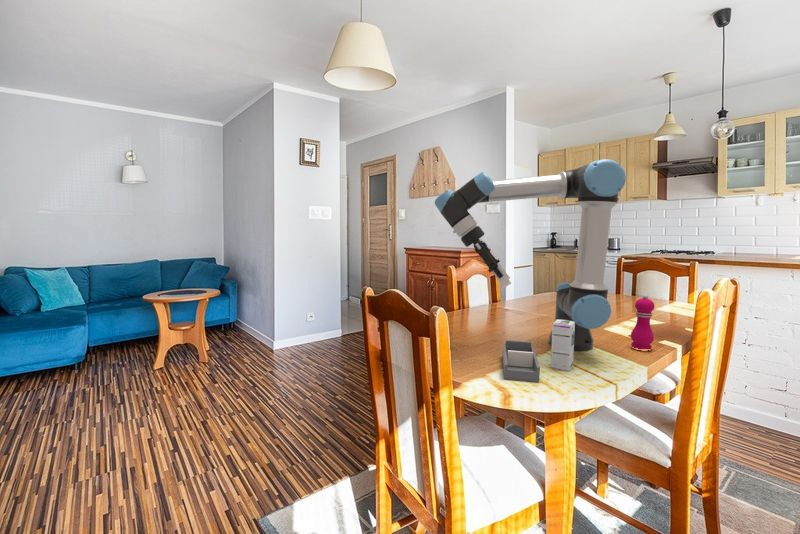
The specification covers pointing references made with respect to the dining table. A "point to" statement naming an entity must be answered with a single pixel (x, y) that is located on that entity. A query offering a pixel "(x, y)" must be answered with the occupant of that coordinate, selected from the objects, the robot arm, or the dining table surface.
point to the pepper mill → (643, 324)
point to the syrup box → (562, 344)
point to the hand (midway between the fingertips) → (507, 282)
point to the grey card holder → (518, 371)
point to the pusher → (520, 358)
